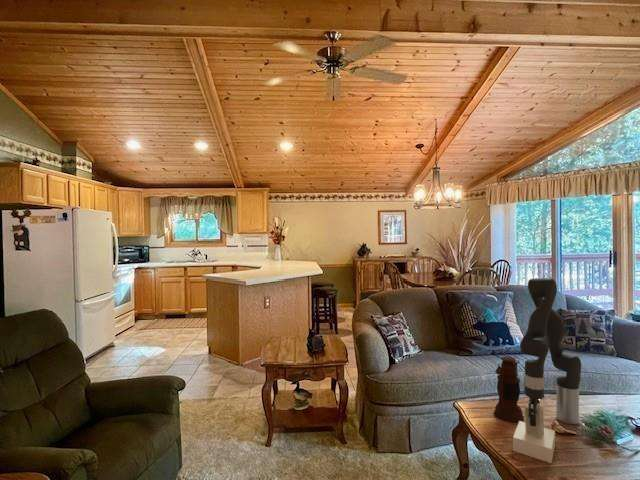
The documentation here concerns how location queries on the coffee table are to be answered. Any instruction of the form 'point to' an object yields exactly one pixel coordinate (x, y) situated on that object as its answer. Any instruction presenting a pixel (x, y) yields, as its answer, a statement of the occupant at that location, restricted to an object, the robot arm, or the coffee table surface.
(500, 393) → the dark brown tall piece
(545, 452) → the cream box
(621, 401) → the coffee table surface
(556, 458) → the coffee table surface
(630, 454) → the coffee table surface
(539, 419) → the skincare box
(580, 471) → the coffee table surface
